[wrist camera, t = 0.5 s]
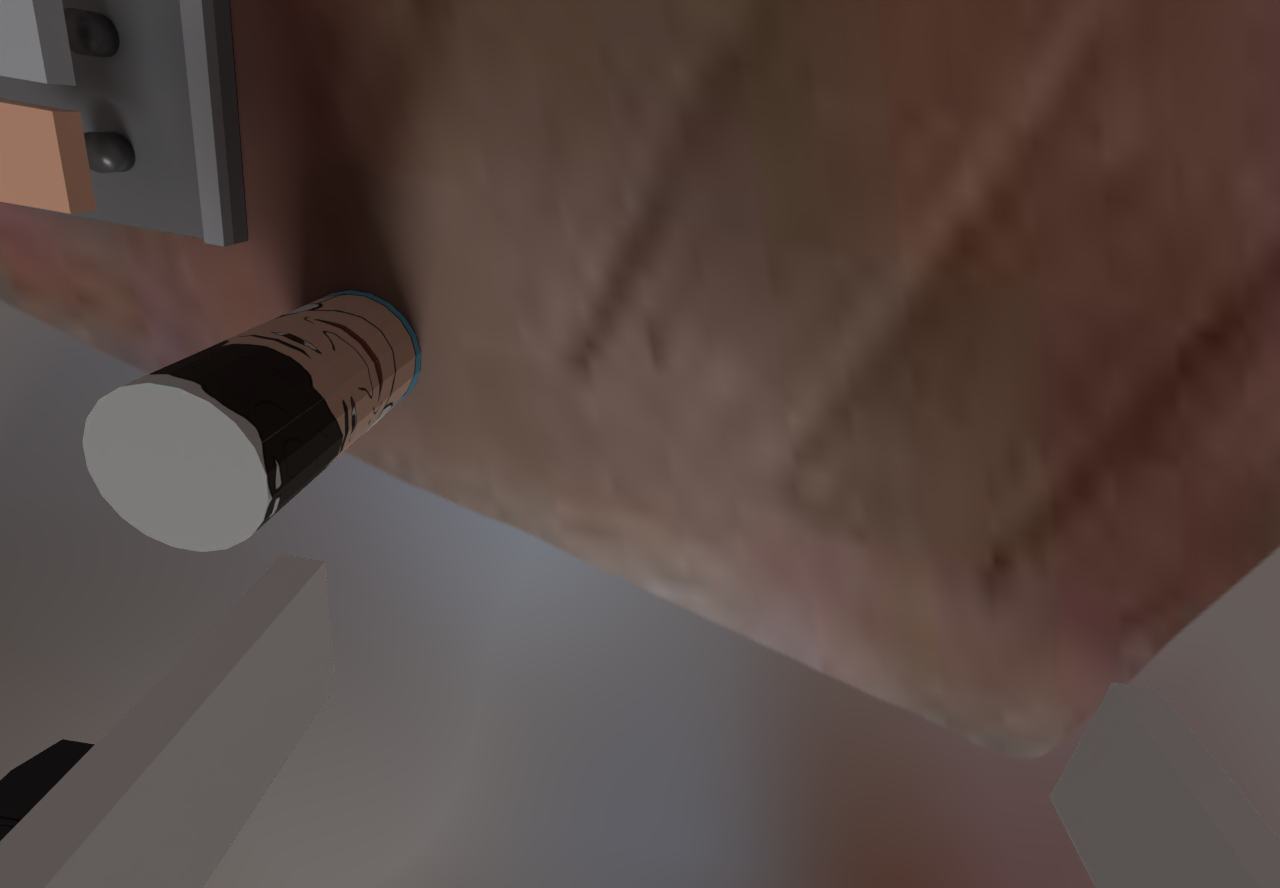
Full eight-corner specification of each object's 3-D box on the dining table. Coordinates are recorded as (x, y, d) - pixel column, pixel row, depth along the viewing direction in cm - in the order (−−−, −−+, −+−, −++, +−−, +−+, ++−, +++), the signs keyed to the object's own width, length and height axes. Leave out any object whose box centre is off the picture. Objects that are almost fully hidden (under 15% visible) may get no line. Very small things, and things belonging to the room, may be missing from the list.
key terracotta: (-13, 95, 29) (-45, 94, 28) (80, 111, 29) (52, 111, 28) (8, 194, 31) (-21, 197, 30) (96, 210, 31) (70, 213, 30)
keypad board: (-39, -213, 30) (-101, -241, 27) (216, -169, 29) (175, -194, 27) (42, 204, 37) (-2, 209, 34) (248, 240, 37) (218, 248, 34)
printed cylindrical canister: (428, 409, 40) (286, 555, 26) (315, 406, 40) (117, 548, 27) (412, 290, 37) (243, 384, 23) (290, 289, 37) (55, 380, 24)
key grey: (-43, -46, 27) (-80, -54, 26) (57, -28, 27) (25, -36, 26) (-19, 69, 29) (-52, 66, 28) (75, 85, 29) (47, 83, 28)
